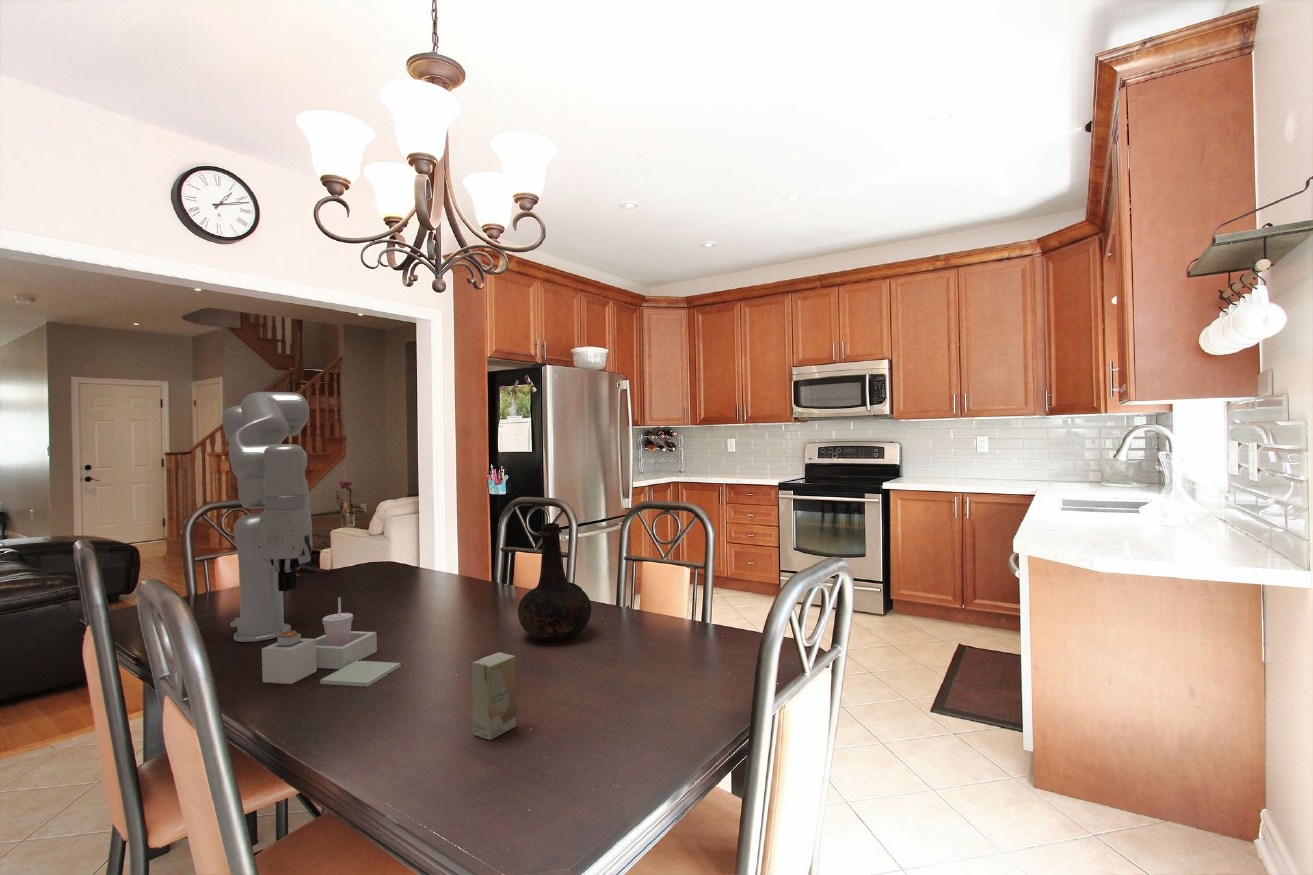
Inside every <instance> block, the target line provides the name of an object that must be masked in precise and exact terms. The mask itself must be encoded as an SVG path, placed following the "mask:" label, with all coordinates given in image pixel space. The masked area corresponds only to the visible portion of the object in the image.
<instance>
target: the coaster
mask: <svg viewBox="0 0 1313 875" xmlns="http://www.w3.org/2000/svg"><path fill="white" fill-rule="evenodd" d="M401 664H402V663H401V662H388V661H387V662H386V661H370V660H360V661H355V662H353V663H351V664H349V665H347V666H345V667H344V668H342V669H337V670H336V671H333V673H331V674H329V675H327V676H325V677H323V678H321V679H320V681H319V682H320V685H334V686H335V685H336V686H348V687H349V686H352V687H363V686H364V687H366V688H369V687H370V686H371V685H373V684H374V683H376V682H378V681H379V680H381V679H383V678H384V677H387V676H388V675H389V673H390V674H391V673H393V672H395V671H396V670H398V669H399V668H401Z"/></svg>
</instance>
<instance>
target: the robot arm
mask: <svg viewBox="0 0 1313 875" xmlns="http://www.w3.org/2000/svg"><path fill="white" fill-rule="evenodd" d="M309 417H310V407H309V403H308V401H307V399H306V398H305V396H304V395H302V394H301V393H299V392H290V391H288V392H285V391H257V392H252V393H249V394H247V395H246V396H245V397H244V398H243V399H242V401H241V404H240V405H234V406H230V407H228V408H226V409H225V410H224V412H223V415H222V426H223V427H222V428H223V430H224V431H223V432H224V435H225V438H226V440H227V443H228V457H229V462H230V466H231V470H232V472H233V475H234V476H235V477H236V482H237V495H238V499H239V500H238V501H239V504H241V506H242V507H243V508H245V509H251V510H253V509H254V510H255V509H264V510H262V511H261V512H257V513H250V514H246V515H244V516H243V515H242V516H241V517H239V518H238V519H237V520H236V521H235V523H234V526H233V538H234V543H235V546H236V552H237V560H238V583H239V612H240V613H239V614H240V616H239V617H238V616H237V617H235V618H234V619H233V621H231V622H230V624H229V626H230V627H232V628H237V631H236V632H234V634H233V640H234V641H235V642H239V643H240V642H241V643H250V642H251V643H253V642H261V641H267V640H272V639H275V638H277V637H280V636H281V633H283V632H286V631H292V630H291V629H292V625H291V624H289V623H285V619H284V618H285V617H284V615H285V614H284V593H285V592H288V591H292V590H295V589H297V571H298V570H300V567H301V565H302V564H306V563H308V562H311V559H312V558H311V554H312V552H313V523H312V514H311V501H310V491H309V485H308V480H307V478H306V469H307V467H308V453H307V452H306V450H304V449H303V447H302V446H300V445H298V444H293V443H286V444H285V443H284V444H281V443H282V442H284V441H285V440H286V439H287V437H296V436H297V435H299V434H300V432H302V429H304V427H305V426H306V424H307V422H308V420H309Z"/></svg>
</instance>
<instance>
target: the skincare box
mask: <svg viewBox="0 0 1313 875" xmlns="http://www.w3.org/2000/svg"><path fill="white" fill-rule="evenodd" d="M471 670H472V672H471V673H472V677H471V679H472V680H471V681H472V686H471V687H472V735H474V736H476V737H479V738H482V739H485V740H488V741H491V740H493V739H495V738H497V737H499V736H501V735H502V734H503V735H504V733H506V732H508V731H510V730H511V729H513V728H515V727H517V688H516V687H517V686H516V681H517V680H516V655H512V654H510V653H509V654H507V653H504V652H500V651H499V652H496V653H493V654H491V655H487V656H485V657H483V658H481V659H478V660H475V661H472V663H471Z"/></svg>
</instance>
